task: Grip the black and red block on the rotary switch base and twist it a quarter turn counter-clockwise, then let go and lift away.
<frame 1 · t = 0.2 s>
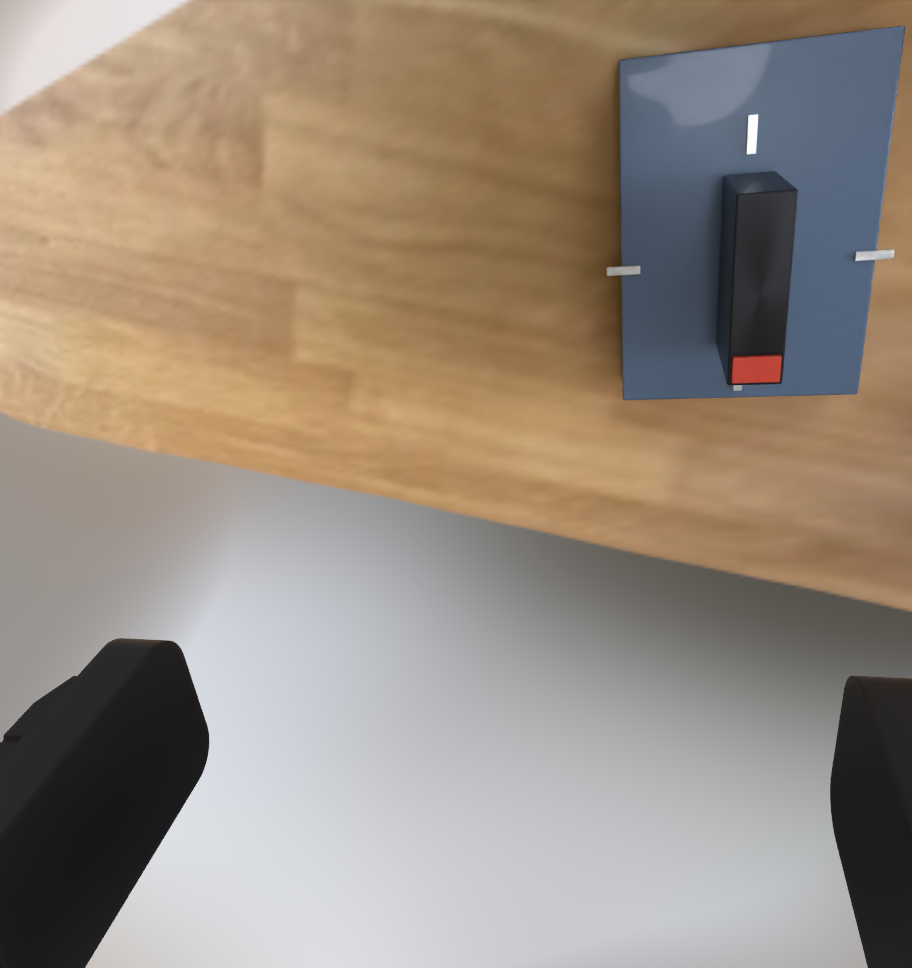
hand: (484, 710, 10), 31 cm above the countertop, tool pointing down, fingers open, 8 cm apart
black and red block: (752, 278, 31), point 6 cm above the countertop, hinge at 0.0°
rotary switch base: (737, 224, 35), on the countertop
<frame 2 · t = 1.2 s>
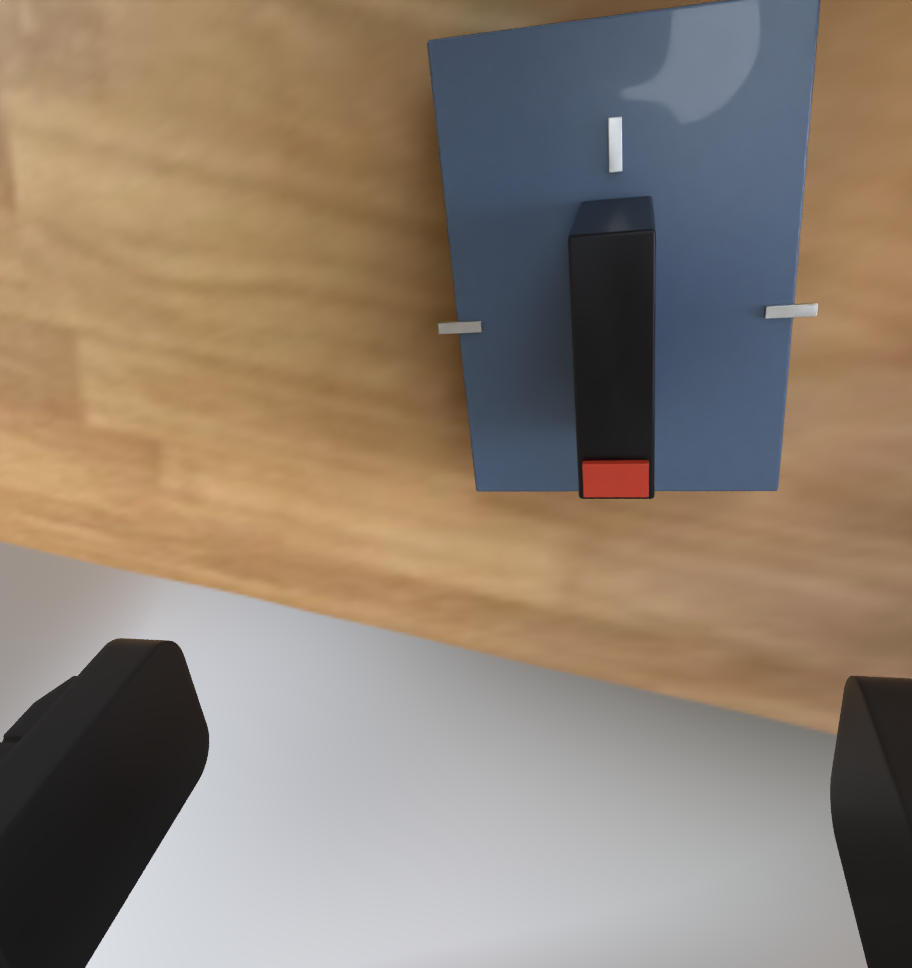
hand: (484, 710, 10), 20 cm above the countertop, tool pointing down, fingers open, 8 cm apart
black and red block: (616, 346, 22), point 6 cm above the countertop, hinge at 0.0°
rotary switch base: (619, 262, 26), on the countertop
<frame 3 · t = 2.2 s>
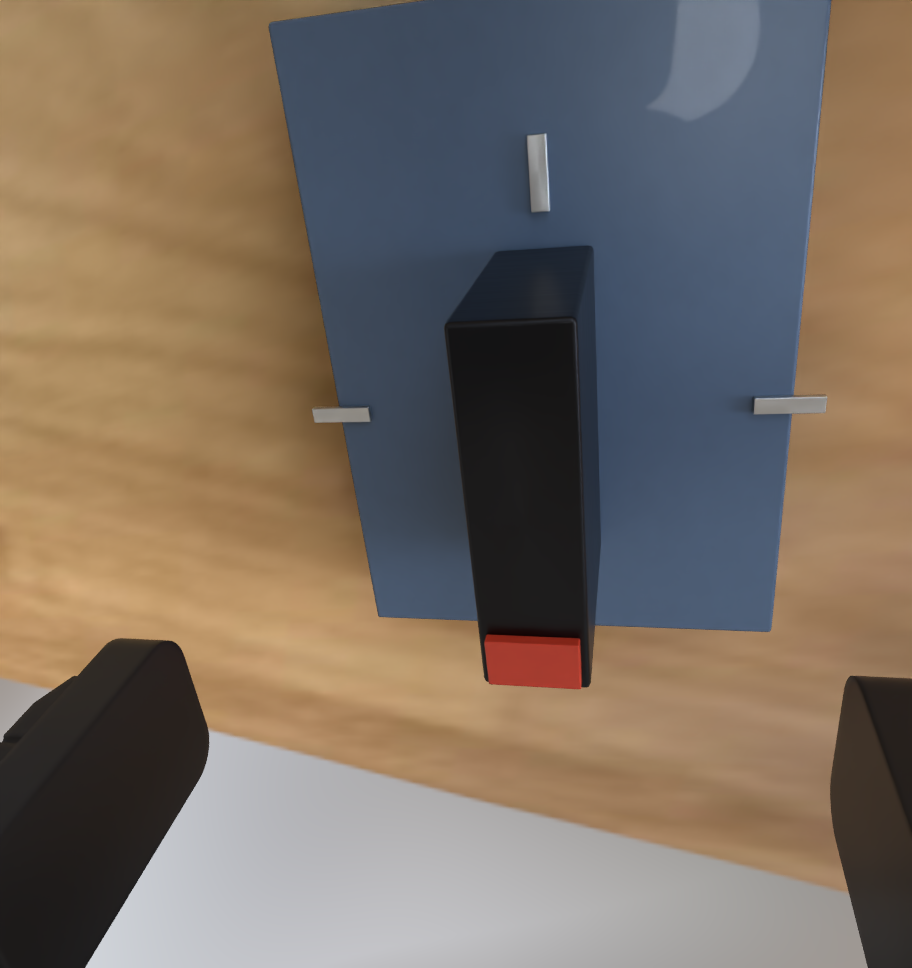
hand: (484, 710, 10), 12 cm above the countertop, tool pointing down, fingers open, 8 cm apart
black and red block: (539, 462, 15), point 6 cm above the countertop, hinge at 0.0°
rotary switch base: (561, 323, 20), on the countertop
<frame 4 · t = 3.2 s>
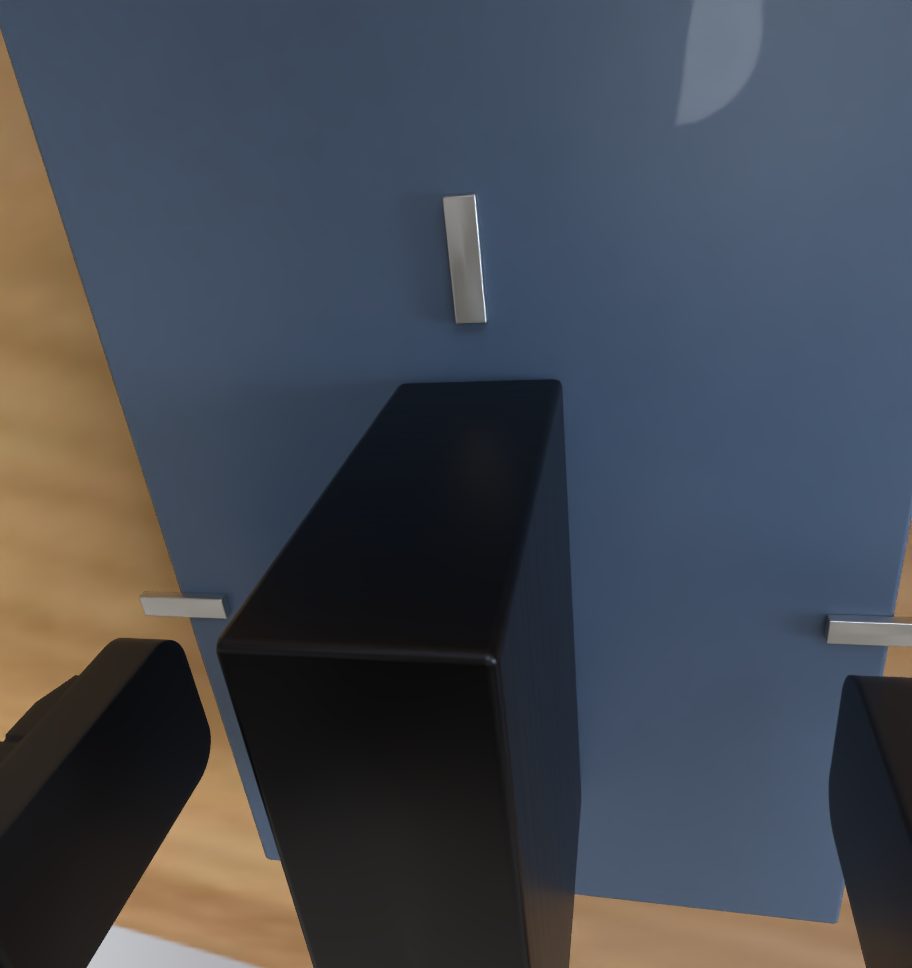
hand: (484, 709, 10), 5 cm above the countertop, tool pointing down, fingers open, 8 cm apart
black and red block: (466, 759, 9), point 6 cm above the countertop, hinge at 0.0°
rotary switch base: (523, 455, 13), on the countertop
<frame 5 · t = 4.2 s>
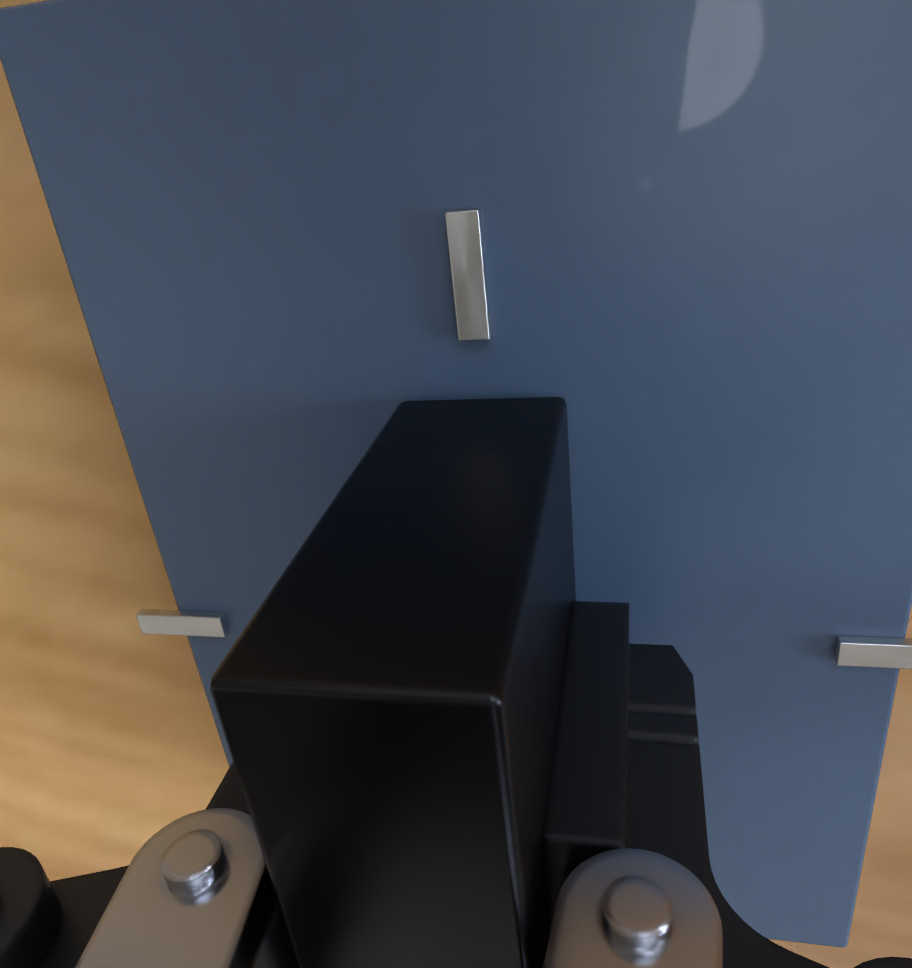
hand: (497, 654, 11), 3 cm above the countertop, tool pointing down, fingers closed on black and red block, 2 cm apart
black and red block: (469, 786, 9), point 6 cm above the countertop, hinge at 0.1°, touching gripper
rotary switch base: (526, 469, 13), on the countertop
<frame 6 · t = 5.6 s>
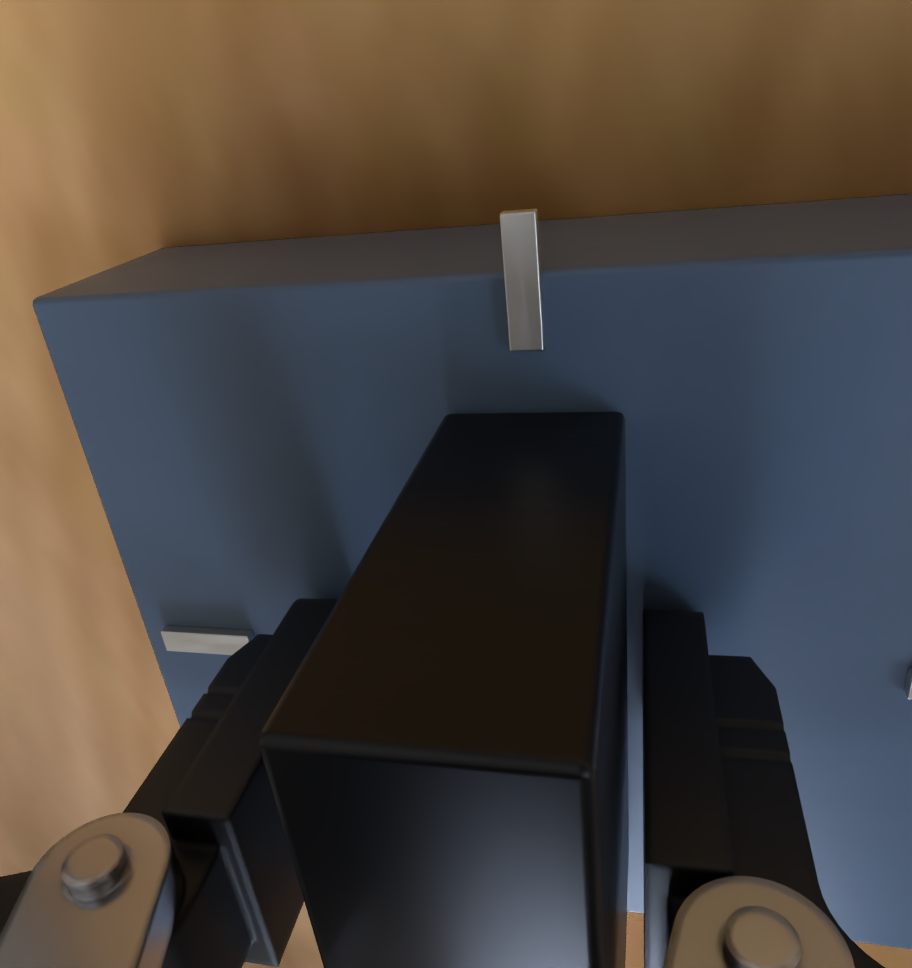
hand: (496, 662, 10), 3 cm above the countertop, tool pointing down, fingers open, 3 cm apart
black and red block: (518, 829, 8), point 6 cm above the countertop, hinge at 90.0°
rotary switch base: (633, 538, 13), on the countertop
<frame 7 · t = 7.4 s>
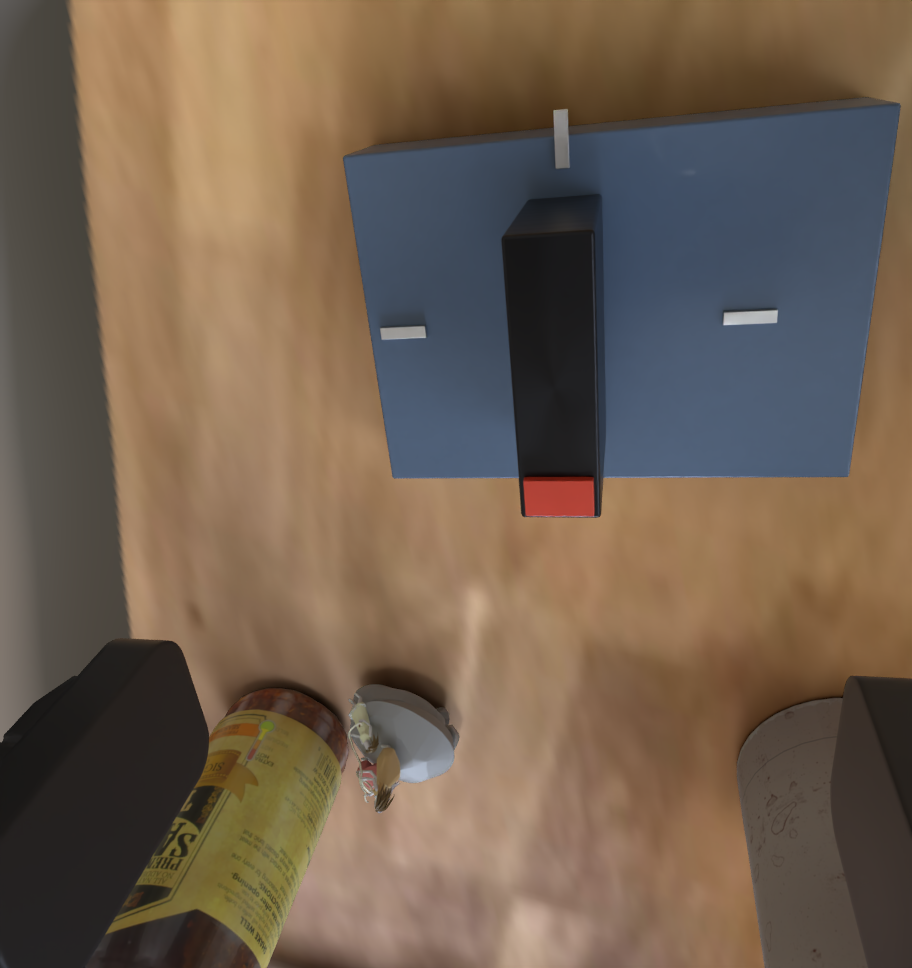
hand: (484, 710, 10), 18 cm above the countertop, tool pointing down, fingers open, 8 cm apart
black and red block: (562, 354, 20), point 6 cm above the countertop, hinge at 90.0°
figurine: (408, 704, 35), on the countertop
sauce bottle: (291, 728, 38), on the countertop
thermos bottle: (838, 767, 33), on the countertop
rotary switch base: (607, 294, 25), on the countertop
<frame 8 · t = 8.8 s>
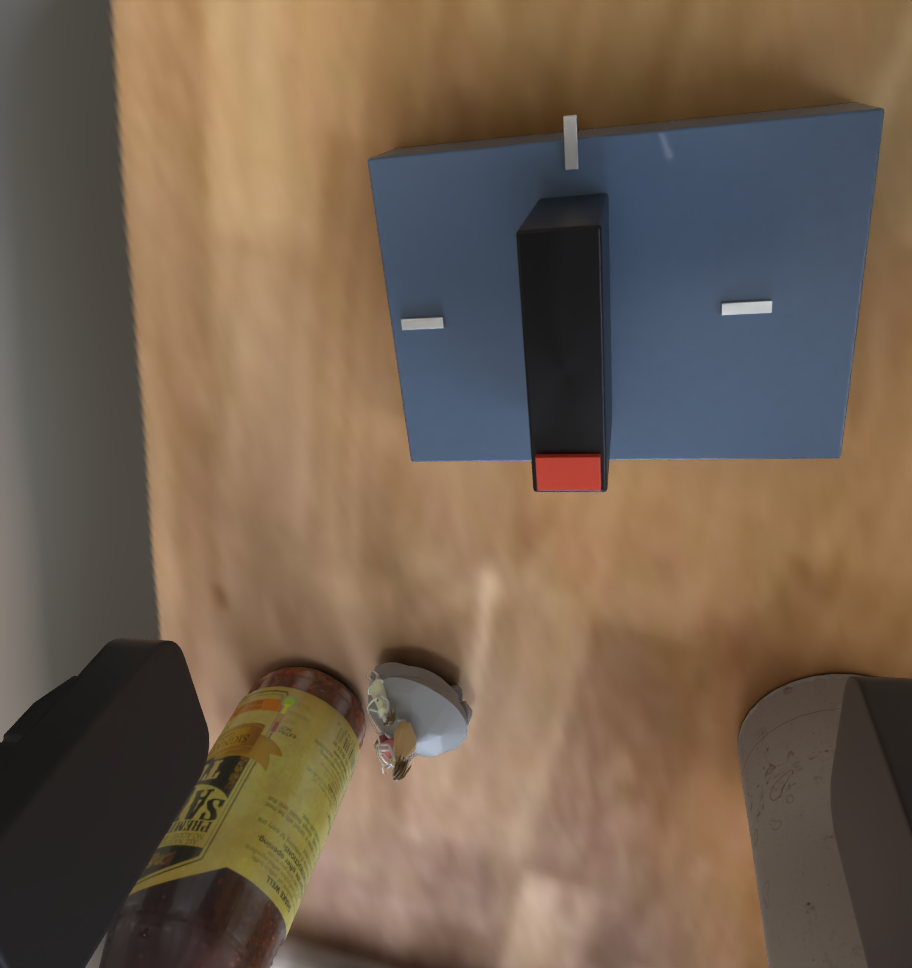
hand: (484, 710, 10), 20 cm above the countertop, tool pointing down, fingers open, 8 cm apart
black and red block: (571, 341, 22), point 6 cm above the countertop, hinge at 90.0°
figurine: (422, 682, 37), on the countertop
sauce bottle: (311, 707, 39), on the countertop
thermos bottle: (835, 741, 34), on the countertop
rotary switch base: (613, 288, 27), on the countertop
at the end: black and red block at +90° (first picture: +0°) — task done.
